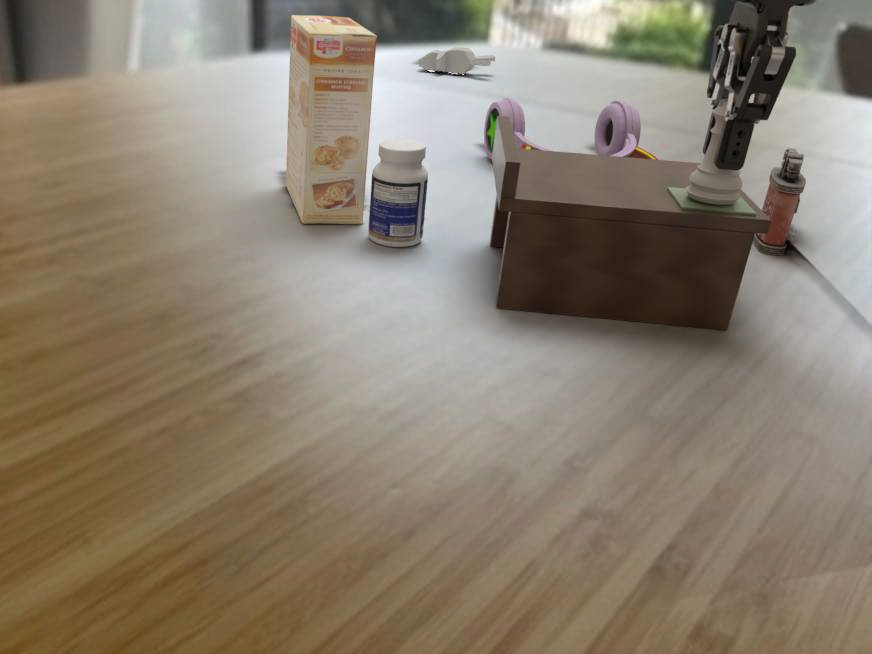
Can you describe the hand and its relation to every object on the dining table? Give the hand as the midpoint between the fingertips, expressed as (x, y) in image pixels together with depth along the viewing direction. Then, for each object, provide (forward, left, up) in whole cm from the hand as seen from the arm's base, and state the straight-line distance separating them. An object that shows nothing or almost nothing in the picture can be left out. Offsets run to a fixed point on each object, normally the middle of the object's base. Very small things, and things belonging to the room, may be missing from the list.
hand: (721, 161), depth 76 cm
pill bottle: (+27, -12, -14) cm, 33 cm away
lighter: (-14, -22, -14) cm, 29 cm away
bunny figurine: (+21, -119, -14) cm, 122 cm away
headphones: (+5, -45, -14) cm, 47 cm away
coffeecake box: (+36, -22, -14) cm, 44 cm away
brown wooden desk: (+7, -5, -13) cm, 16 cm away
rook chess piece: (0, 0, -3) cm, 3 cm away
